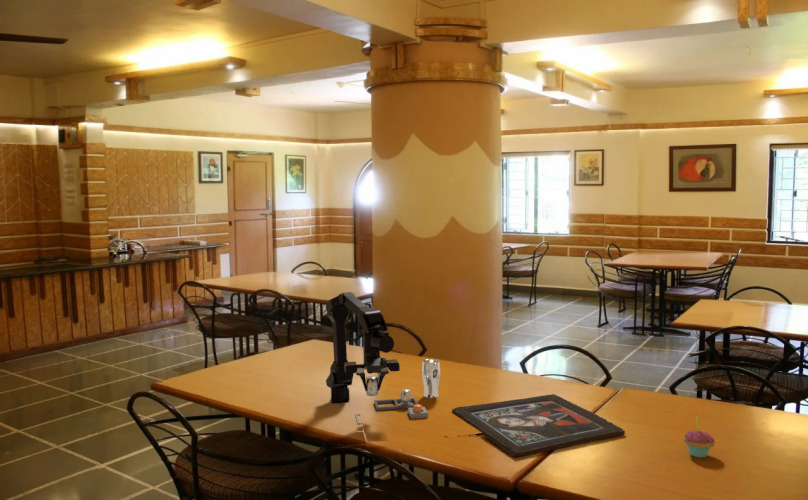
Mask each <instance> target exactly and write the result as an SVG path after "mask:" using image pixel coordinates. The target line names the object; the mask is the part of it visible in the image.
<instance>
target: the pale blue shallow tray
mask: <svg viewBox="0 0 808 500" xmlns="http://www.w3.org/2000/svg"><path fill="white" fill-rule="evenodd" d="M354 414H355V413H354ZM354 416H355V419H356V420H355V421H356V423H357V425H363V424H364V423H363V422H360V421H359V418H358V416H361V414H360V413H356V414H355V415H354Z"/></svg>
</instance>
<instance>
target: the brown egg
mask: <svg viewBox="0 0 808 500" xmlns="http://www.w3.org/2000/svg"><path fill="white" fill-rule="evenodd" d="M413 405H414V412H422V407H423V405H422V404H419V403H418V404H417V405H415V404H413Z"/></svg>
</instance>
